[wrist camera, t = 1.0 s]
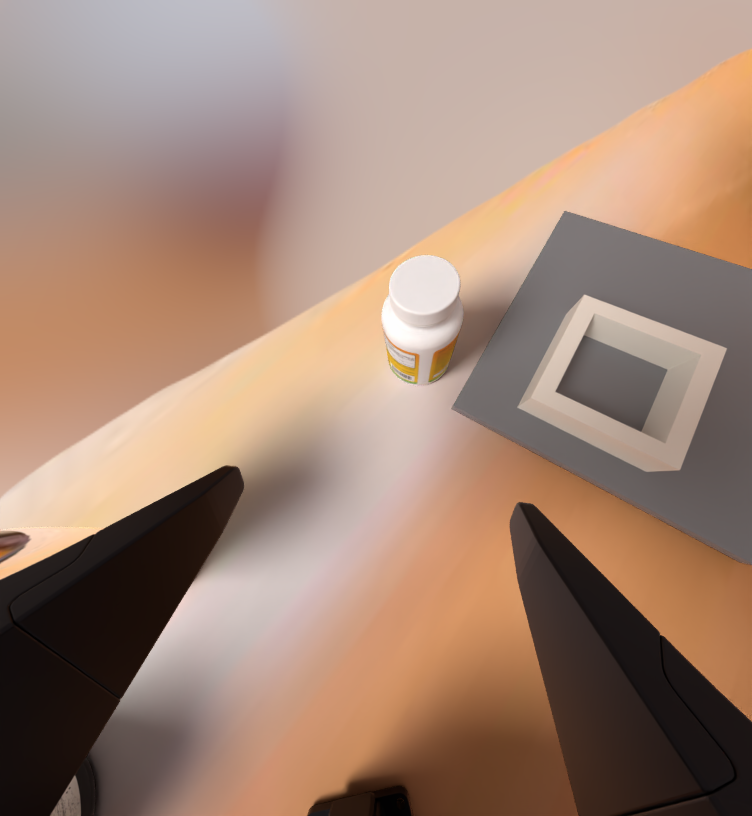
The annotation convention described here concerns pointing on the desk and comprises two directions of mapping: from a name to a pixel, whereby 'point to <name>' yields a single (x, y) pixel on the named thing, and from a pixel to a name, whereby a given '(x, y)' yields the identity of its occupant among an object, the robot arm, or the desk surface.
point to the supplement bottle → (422, 318)
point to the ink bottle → (78, 794)
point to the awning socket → (631, 376)
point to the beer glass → (36, 545)
